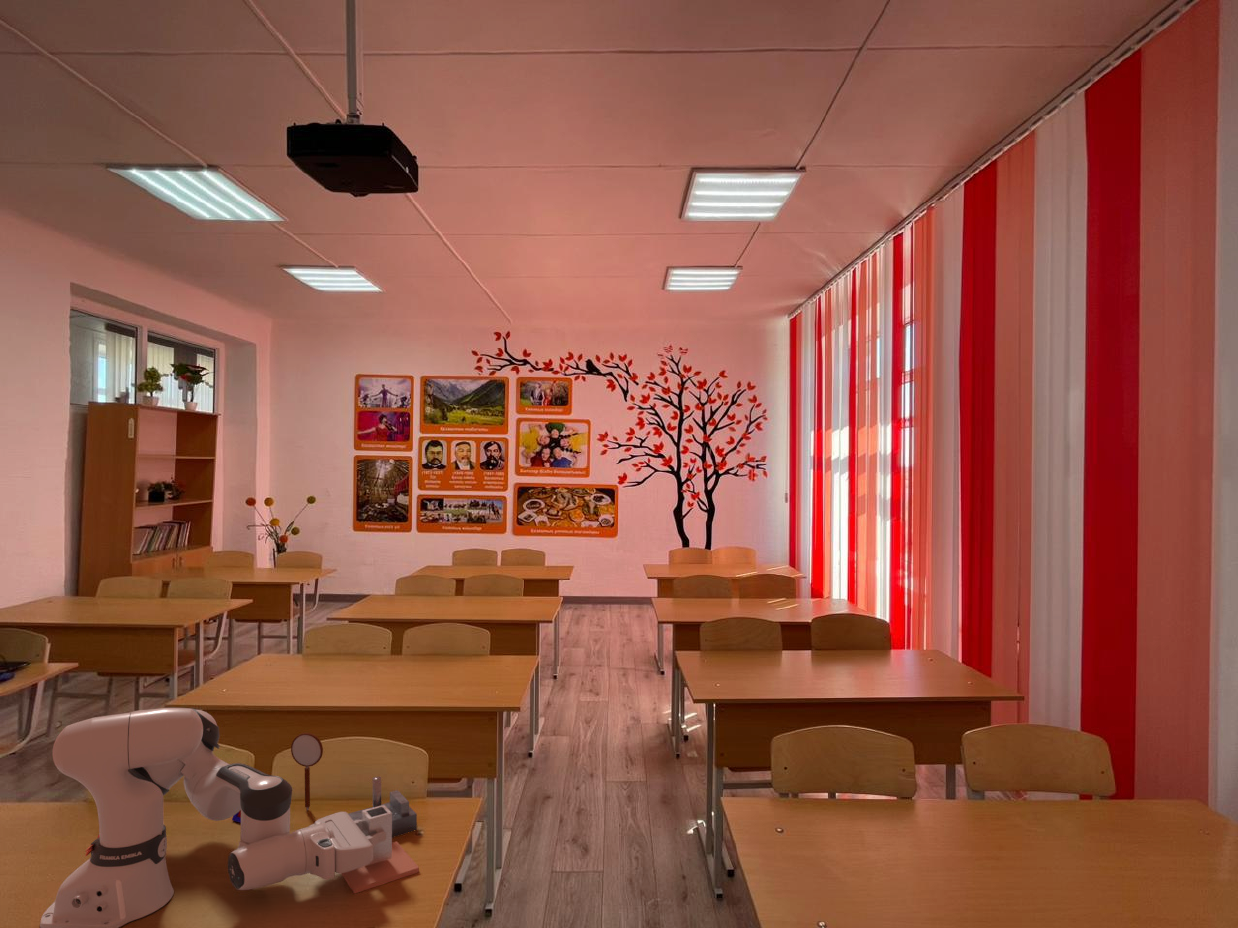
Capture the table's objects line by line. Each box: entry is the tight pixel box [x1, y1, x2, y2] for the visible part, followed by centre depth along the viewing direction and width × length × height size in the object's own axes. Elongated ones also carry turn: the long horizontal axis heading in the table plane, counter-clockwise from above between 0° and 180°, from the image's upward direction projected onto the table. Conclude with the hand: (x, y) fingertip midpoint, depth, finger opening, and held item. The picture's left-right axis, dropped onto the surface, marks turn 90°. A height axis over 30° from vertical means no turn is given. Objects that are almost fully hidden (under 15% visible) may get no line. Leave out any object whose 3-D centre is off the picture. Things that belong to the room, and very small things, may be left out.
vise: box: [348, 776, 418, 838], centre depth 185 cm, size 16×10×13 cm, turn 126°
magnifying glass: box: [290, 732, 324, 811], centre depth 197 cm, size 9×2×20 cm, turn 81°
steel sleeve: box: [362, 804, 393, 865], centre depth 169 cm, size 5×5×10 cm
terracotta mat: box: [340, 841, 420, 895], centre depth 169 cm, size 14×14×1 cm
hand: (380, 828), depth 170 cm, fingers closed on steel sleeve, 5 cm apart
